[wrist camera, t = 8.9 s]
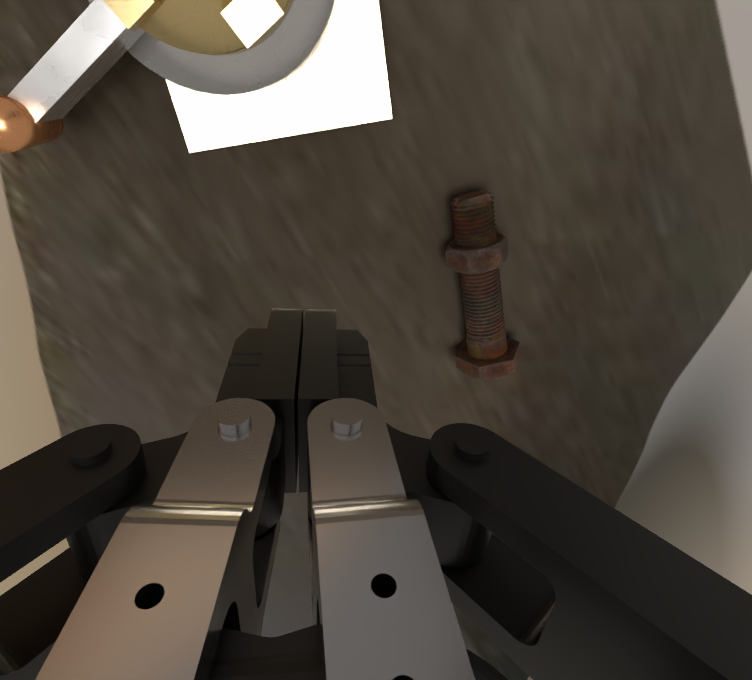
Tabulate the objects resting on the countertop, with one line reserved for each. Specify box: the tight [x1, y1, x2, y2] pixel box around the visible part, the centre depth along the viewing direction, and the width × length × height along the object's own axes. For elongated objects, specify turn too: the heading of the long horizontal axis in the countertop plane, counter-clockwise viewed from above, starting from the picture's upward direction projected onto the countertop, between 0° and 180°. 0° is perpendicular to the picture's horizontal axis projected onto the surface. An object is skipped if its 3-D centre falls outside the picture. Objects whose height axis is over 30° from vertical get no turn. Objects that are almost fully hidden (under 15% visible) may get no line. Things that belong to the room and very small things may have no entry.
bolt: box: [445, 190, 521, 380], centre depth 39 cm, size 6×5×15 cm
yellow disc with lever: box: [0, 0, 294, 154], centre depth 24 cm, size 20×10×4 cm, turn 127°
